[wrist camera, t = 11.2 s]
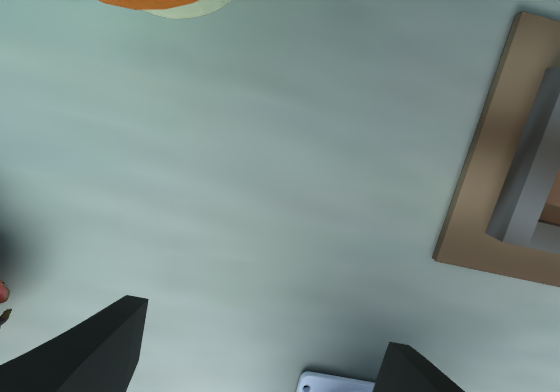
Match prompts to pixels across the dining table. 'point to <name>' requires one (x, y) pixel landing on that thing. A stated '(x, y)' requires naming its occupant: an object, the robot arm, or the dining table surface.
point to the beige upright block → (555, 192)
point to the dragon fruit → (0, 296)
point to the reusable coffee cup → (172, 7)
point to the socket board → (512, 165)
